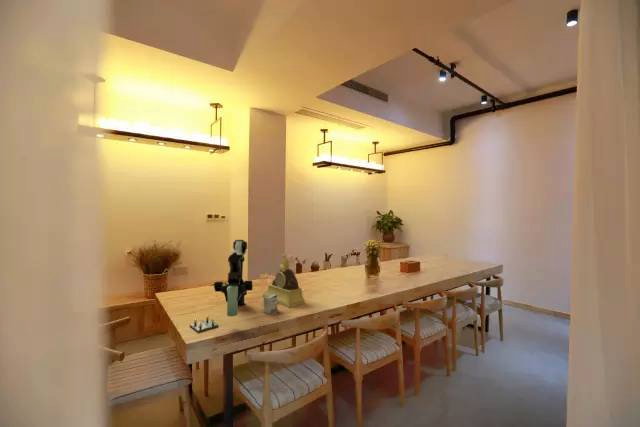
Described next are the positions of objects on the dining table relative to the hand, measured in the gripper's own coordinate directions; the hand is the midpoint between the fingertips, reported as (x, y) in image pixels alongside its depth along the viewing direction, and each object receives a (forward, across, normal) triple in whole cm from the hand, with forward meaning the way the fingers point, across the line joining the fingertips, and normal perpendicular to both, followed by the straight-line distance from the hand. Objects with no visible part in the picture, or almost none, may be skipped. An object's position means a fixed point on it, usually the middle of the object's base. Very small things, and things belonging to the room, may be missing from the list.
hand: (232, 301), depth 138 cm
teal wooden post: (+4, 0, +6) cm, 7 cm away
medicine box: (-5, +19, +24) cm, 31 cm away
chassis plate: (+7, -14, +12) cm, 19 cm away
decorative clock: (-18, +28, +38) cm, 50 cm away
